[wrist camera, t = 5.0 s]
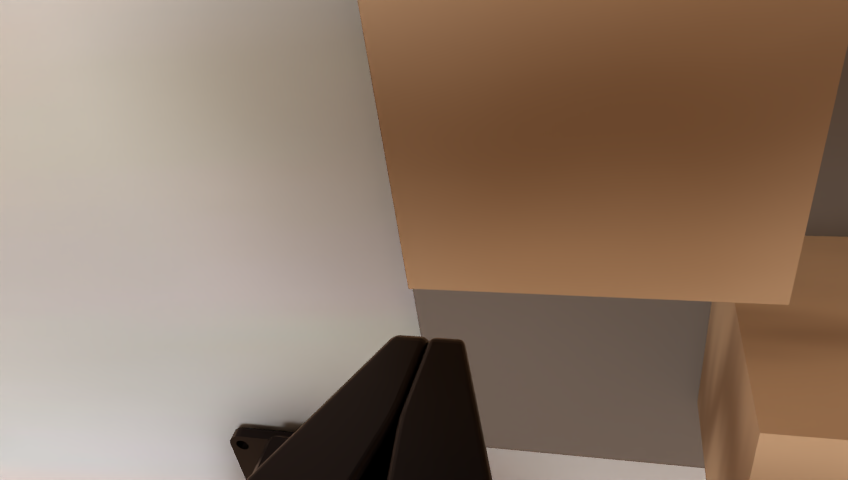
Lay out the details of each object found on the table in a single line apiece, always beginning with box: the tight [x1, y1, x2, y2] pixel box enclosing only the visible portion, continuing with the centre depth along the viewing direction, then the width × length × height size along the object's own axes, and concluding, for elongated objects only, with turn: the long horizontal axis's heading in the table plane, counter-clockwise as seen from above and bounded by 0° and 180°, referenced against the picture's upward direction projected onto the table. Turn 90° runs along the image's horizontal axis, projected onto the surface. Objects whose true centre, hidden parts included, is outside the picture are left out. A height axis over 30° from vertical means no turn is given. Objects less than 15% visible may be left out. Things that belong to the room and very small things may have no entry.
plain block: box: [358, 0, 848, 305], centre depth 12 cm, size 6×6×6 cm
